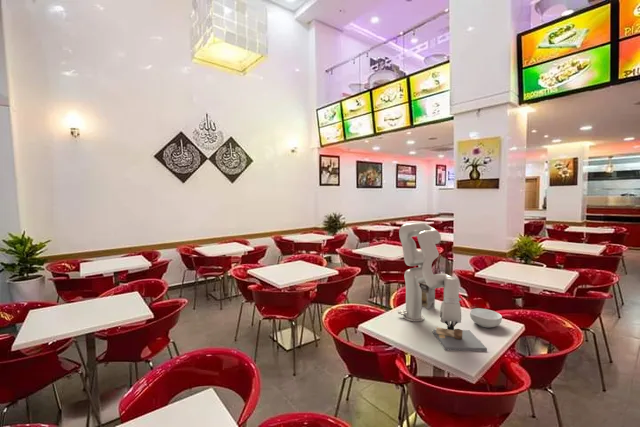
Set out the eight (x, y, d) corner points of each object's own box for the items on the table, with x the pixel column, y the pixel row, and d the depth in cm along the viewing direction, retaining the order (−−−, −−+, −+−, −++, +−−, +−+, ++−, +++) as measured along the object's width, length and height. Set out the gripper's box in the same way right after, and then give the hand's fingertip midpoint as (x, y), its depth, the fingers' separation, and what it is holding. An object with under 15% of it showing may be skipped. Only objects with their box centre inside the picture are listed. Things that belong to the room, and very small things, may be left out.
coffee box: (418, 305, 214) (418, 282, 213) (425, 303, 217) (425, 281, 216) (427, 309, 206) (428, 286, 205) (435, 307, 208) (435, 284, 207)
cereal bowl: (494, 334, 169) (495, 321, 169) (464, 324, 182) (464, 312, 181) (506, 325, 180) (506, 313, 179) (477, 316, 193) (477, 306, 192)
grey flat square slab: (445, 350, 152) (445, 347, 152) (433, 332, 172) (433, 329, 172) (486, 351, 151) (486, 347, 151) (469, 332, 171) (469, 330, 171)
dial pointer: (462, 337, 162) (462, 329, 162) (461, 340, 158) (461, 332, 158) (437, 331, 169) (437, 324, 168) (435, 334, 165) (435, 327, 165)
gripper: (462, 297, 168) (461, 330, 169) (434, 297, 169) (434, 329, 170) (468, 302, 161) (467, 336, 162) (439, 302, 161) (438, 335, 163)
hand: (450, 332), depth 166 cm, fingers closed
